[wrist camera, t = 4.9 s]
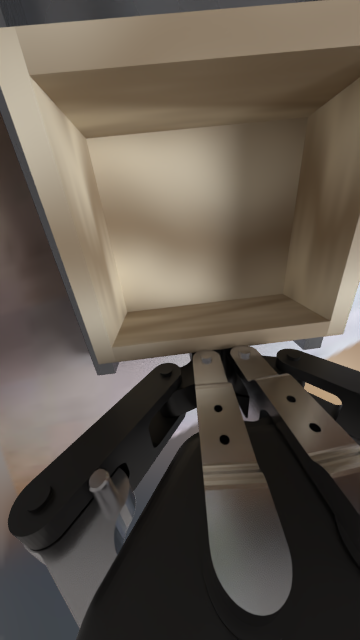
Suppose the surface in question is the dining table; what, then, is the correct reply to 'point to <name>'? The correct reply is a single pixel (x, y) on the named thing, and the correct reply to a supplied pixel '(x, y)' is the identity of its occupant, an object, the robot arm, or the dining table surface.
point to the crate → (197, 170)
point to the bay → (91, 4)
